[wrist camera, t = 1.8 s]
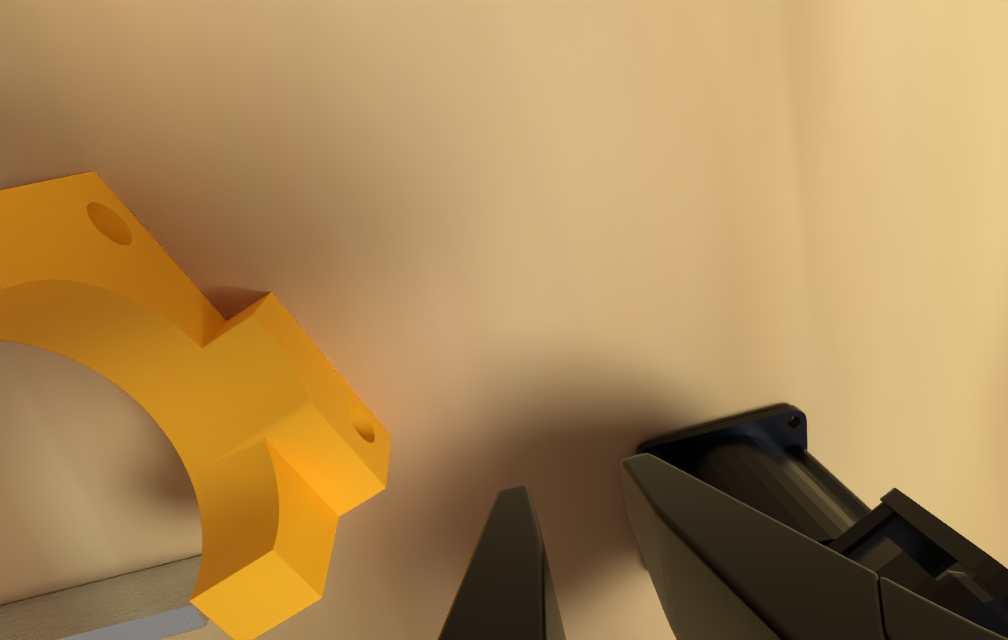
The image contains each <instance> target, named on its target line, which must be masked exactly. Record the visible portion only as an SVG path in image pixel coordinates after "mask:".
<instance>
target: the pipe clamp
mask: <svg viewBox="0 0 1008 640" xmlns="http://www.w3.org/2000/svg"><path fill="white" fill-rule="evenodd" d="M0 341H9V342H17V343H22V344H27V345H31V346H36V347H39V348H43V349H46V350H49V351H53V352H55V353H58V354H61V355H63V356H66V357H68V358H71V359H73V360H75V361H77V362H79V363H81V364H83V365H85V366H87V367H89V368H91V369H93V370H94V371H96V372H98V373H99V374H101V375H103V376H104V377H106V378H107V379H109V380H110V381H112V382H113V383H114V384H116V385H117V386H118V387H120V388H121V389H122V390H124V391H125V392H126V393H127V394H129V395H130V396H131V397H132V398H133V399H134V400H136V401H137V402H138V403H139V404H140V405H141V406H142V407H143V408H144V409H145V410H146V411H147V412H148V413H149V414H150V416H151V417H152V418H153V419H154V420H155V421H156V422H157V423H158V425H159V426H160V427H161V429H162V430H163V431H164V433H165V434H166V435H167V437H168V438H169V440H170V441H171V443H172V444H173V446H174V447H175V449H176V451H177V452H178V454H179V456H180V458H181V459H182V461H183V463H184V465H185V468H186V470H187V472H188V474H189V477H190V479H191V482H192V484H193V487H194V490H195V494H196V497H197V501H198V505H199V510H200V515H201V523H202V540H203V546H202V559H201V565H200V570H199V575H198V578H197V582H196V585H195V588H194V591H193V593H192V596H191V598H190V602H191V603H192V604H193V605H194V606H196V607H197V608H198V609H199V610H200V611H201V612H203V613H204V614H205V615H206V616H207V617H208V618H210V619H211V620H212V621H213V622H214V623H215V624H216V625H218V626H219V627H220V628H221V629H222V630H223V631H225V632H226V633H227V634H228V635H229V636H230V637H232V638H233V639H234V640H253V639H254V638H256V637H258V636H259V635H261V634H263V633H264V632H266V631H268V630H269V629H271V628H273V627H274V626H276V625H278V624H279V623H281V622H283V621H284V620H286V619H288V618H289V617H291V616H293V615H294V614H296V613H298V612H299V611H301V610H303V609H304V608H306V607H308V606H309V605H311V604H313V603H314V602H316V601H318V600H319V599H321V598H322V596H323V592H324V587H325V582H326V577H327V573H328V568H329V563H330V558H331V553H332V549H333V544H334V539H335V534H336V530H337V525H338V520H339V517H340V516H341V515H343V514H345V513H346V512H348V511H350V510H351V509H353V508H355V507H356V506H358V505H359V504H361V503H363V502H364V501H366V500H368V499H369V498H371V497H373V496H374V495H376V494H377V493H379V492H381V491H382V490H384V489H386V484H387V474H388V465H389V455H390V445H391V435H390V434H389V433H388V432H387V431H386V429H385V428H384V427H383V426H382V425H381V423H380V422H379V421H378V420H377V419H376V417H375V416H374V415H373V414H372V413H371V411H370V410H369V409H368V408H367V407H366V405H365V404H364V403H363V402H362V401H361V399H360V398H359V397H358V396H357V394H356V393H355V392H354V391H353V390H352V388H351V387H350V386H349V385H348V384H347V382H346V381H345V380H344V379H343V378H342V376H341V375H340V374H339V373H338V372H337V370H336V369H335V368H334V367H333V366H332V364H331V363H330V362H329V361H328V360H327V358H326V357H325V356H324V355H323V354H322V352H321V351H320V350H319V349H318V348H317V346H316V345H315V344H314V343H313V341H312V340H311V339H310V338H309V337H308V335H307V334H306V333H305V332H304V331H303V329H302V328H301V327H300V326H299V325H298V323H297V322H296V321H295V320H294V319H293V317H292V316H291V315H290V314H289V313H288V311H287V310H286V309H285V308H284V307H283V305H282V304H281V303H280V302H279V301H278V299H277V298H276V297H275V296H274V295H273V293H272V292H270V293H269V294H267V295H266V296H264V297H263V298H261V299H260V300H258V301H257V302H255V303H253V304H252V305H250V306H249V307H247V308H246V309H244V310H243V311H241V312H240V313H238V314H237V315H235V316H234V317H232V318H231V319H229V320H228V321H226V320H225V319H224V318H223V316H222V315H221V314H220V313H219V312H218V311H217V310H216V309H215V307H214V306H213V305H212V304H211V303H210V302H209V301H208V299H207V298H206V297H205V296H204V295H203V294H202V293H201V292H200V290H199V289H198V288H197V287H196V286H195V285H194V284H193V282H192V281H191V280H190V279H189V278H188V277H187V276H186V275H185V273H184V272H183V271H182V270H181V269H180V268H179V267H178V265H177V264H176V263H175V262H174V261H173V260H172V259H171V258H170V256H169V255H168V254H167V253H166V252H165V251H164V250H163V248H162V247H161V246H160V245H159V244H158V243H157V242H156V241H155V239H154V238H153V237H152V236H151V235H150V234H149V233H148V231H147V230H146V229H145V228H144V227H143V226H142V225H141V224H140V222H139V221H138V220H137V219H136V218H135V217H134V216H133V214H132V213H131V212H130V211H129V210H128V209H127V208H126V207H125V205H124V204H123V203H122V202H121V201H120V200H119V199H118V197H117V196H116V195H115V194H114V193H113V192H112V191H111V190H110V188H109V187H108V186H107V185H106V184H105V183H104V182H103V180H102V179H101V178H100V177H99V176H98V175H97V174H96V173H95V171H91V172H87V173H82V174H77V175H72V176H67V177H62V178H58V179H53V180H48V181H43V182H38V183H33V184H29V185H24V186H19V187H14V188H9V189H4V190H0Z"/></svg>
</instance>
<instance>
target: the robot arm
mask: <svg viewBox="0 0 1008 640" xmlns="http://www.w3.org/2000/svg"><path fill="white" fill-rule="evenodd" d="M793 416H794V418H793V420H792V421H791V422H789V423H787V422H788V420H789V419H790V418H791V417H793ZM651 452H655V453H654V455H651V454H649V453H651ZM619 469H620V475H621V482H622V488H623V494H624V500H625V506H626V511H627V515H628V519H629V522H630V525H631V527H632V530H633V532H634V535H635V538H636V540H637V543H638V545H639V548H640V551H641V553H642V556H643V558H644V561H645V564H646V566H647V569H648V571H649V574H650V577H651V579H652V582H653V584H654V587H655V589H656V592H657V595H658V597H659V600H660V602H661V605H662V608H663V610H664V612H665V615H666V617H667V620H668V622H669V624H670V627H671V629H672V631H673V633H674V635H675V637H676V639H677V640H1008V569H1007V568H1006V567H1004V566H1003V565H1002V564H1000V563H999V562H998V561H996V560H995V559H994V558H992V557H991V556H990V555H988V554H987V553H986V552H984V551H983V550H981V549H980V548H979V547H977V546H976V545H974V544H973V543H972V542H970V541H969V540H967V539H966V538H965V537H963V536H962V535H960V534H959V533H958V532H956V531H955V530H953V529H952V528H951V527H949V526H948V525H947V524H945V523H944V522H942V521H941V520H940V519H938V518H937V517H935V516H934V515H933V514H931V513H930V512H928V511H927V510H926V509H924V508H923V507H921V506H920V505H919V504H917V503H916V502H914V501H913V500H912V499H910V498H909V497H908V496H906V495H905V494H903V493H902V492H901V491H899V490H898V489H896V488H895V487H894V488H893V489H892V490H891V491H889V492H888V493H887V494H886V495H884V496H883V497H882V498H881V499H880V500H881V501H882V503H880V504H879V505H878V506H876V507H875V508H874V509H873V510H871V509H870V508H869V507H868V506H867V505H866V504H865V503H864V502H863V501H862V500H860V499H859V498H858V497H857V496H856V495H855V494H854V493H853V492H852V491H851V490H849V489H848V488H847V487H846V486H845V485H844V484H843V483H842V482H841V481H840V480H839V479H837V478H836V477H835V476H834V475H833V474H832V473H831V472H830V471H829V470H828V469H827V468H825V467H824V466H823V465H822V464H821V463H820V462H819V461H818V460H817V459H816V458H815V457H813V456H812V455H811V454H810V453H809V452H808V451H807V419H806V415H805V414H804V413H803V412H802V411H801V410H800V409H798V408H797V407H796V406H793V405H789V406H784V407H780V408H776V409H772V410H768V411H764V412H760V413H756V414H752V415H748V416H744V417H740V418H736V419H732V420H728V421H724V422H720V423H716V424H712V425H708V426H704V427H700V428H696V429H692V430H688V431H684V432H680V433H676V434H672V435H668V436H665V437H661V438H657V439H653V440H649V441H645V442H643V443H641V444H640V445H639V446H638V448H637V449H636V454H635V456H631V457H627V458H624V459H622V460H621V461H620V464H619ZM438 640H566V638H565V634H564V629H563V625H562V621H561V616H560V612H559V608H558V603H557V599H556V595H555V590H554V586H553V582H552V577H551V573H550V569H549V564H548V560H547V556H546V551H545V547H544V543H543V538H542V534H541V530H540V526H539V523H538V519H537V516H536V512H535V508H534V505H533V501H532V497H531V494H530V490H529V487H528V486H527V485H526V484H520V485H516V486H512V487H508V488H504V489H501V490H499V491H498V493H497V495H496V497H495V500H494V502H493V505H492V507H491V510H490V512H489V515H488V517H487V519H486V522H485V524H484V527H483V529H482V532H481V534H480V537H479V539H478V542H477V544H476V547H475V549H474V551H473V554H472V556H471V559H470V561H469V564H468V566H467V569H466V571H465V574H464V576H463V579H462V581H461V583H460V586H459V588H458V591H457V593H456V596H455V598H454V601H453V603H452V606H451V608H450V611H449V613H448V615H447V618H446V620H445V623H444V625H443V628H442V630H441V633H440V635H439V638H438Z"/></svg>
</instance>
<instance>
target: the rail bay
mask: <svg viewBox="0 0 1008 640" xmlns="http://www.w3.org/2000/svg"><path fill="white" fill-rule="evenodd" d="M201 559H202V555H201V556H197V557H193V558H189V559H185V560H181V561H177V562H173V563H169V564H165V565H162V566H158V567H154V568H150V569H146V570H142V571H138V572H134V573H130V574H126V575H122V576H118V577H114V578H110V579H106V580H102V581H98V582H94V583H90V584H86V585H82V586H78V587H74V588H70V589H66V590H62V591H58V592H54V593H50V594H46V595H42V596H38V597H34V598H30V599H26V600H22V601H18V602H14V603H10V604H6V605H2V606H0V640H157V639H161V638H164V637H168V636H172V635H176V634H180V633H184V632H188V631H192V630H196V629H200V628H203V627H206V625H207V622H208V620H209V618H208V617H207V616H206V615H205V614H204V613H203V612H201V611H200V610H199V609H198V608H197V607H196V606H194V605H193V604H192V603H191V602H190V598H191V596H192V593H193V591H194V588H195V585H196V582H197V578H198V575H199V570H200V565H201Z"/></svg>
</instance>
